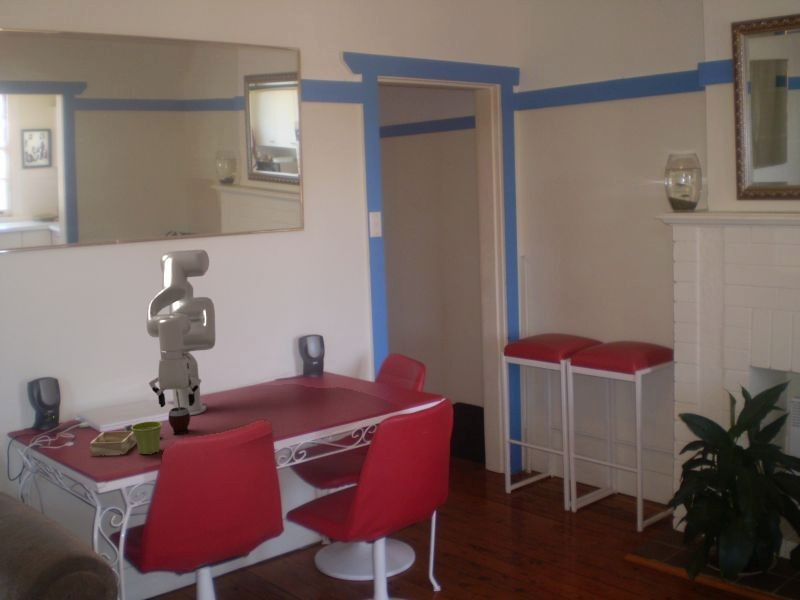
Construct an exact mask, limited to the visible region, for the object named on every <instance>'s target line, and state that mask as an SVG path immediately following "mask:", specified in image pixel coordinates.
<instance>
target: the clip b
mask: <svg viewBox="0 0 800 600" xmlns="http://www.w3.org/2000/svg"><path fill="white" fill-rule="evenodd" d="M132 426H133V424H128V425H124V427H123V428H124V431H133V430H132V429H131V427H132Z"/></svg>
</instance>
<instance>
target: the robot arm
mask: <svg viewBox="0 0 800 600" xmlns="http://www.w3.org/2000/svg"><path fill="white" fill-rule="evenodd" d="M159 263H160V268H161V272H162V279H161V280H162V284H161V290H160V291H159V292H157V294H156V295H155V296H153V298H152V299H151V301H150V302H149V304H148V307H147V314H146V330H147V331H146V332H147V333H148V335H149V336H150V337H152V338H158V340H159V350H160V359H159V362H158V377H156V378H154V379H153V380H151V381H149V383H148V384H149V386H150V388H151V389H152V391H153V393H155V394H156V396H158V405H160V408H163V407H165V406H166V396H165V393H164V391H165V390H166V391H168V390H172V397H173V407H171V409H173V408H177V407H178V401H177V396H176V390H175V389H177V391H178V394H179V395H178V397H179V403H180V407H185V408H187V409H188V411H189V414H190V416H194V415H198V414H201V413H204V412H205V411H206V410H207V406H206V405H205V404H203V403H202V399H201V397H202V396H201V388H200V385H201V383H202V379H200V376H199V367H198V366H199V365H198V361H197V360H196V358H195V356H193V354H192V353H190V352H195V351H196V352H197V351H207V350H211V349H213V348H214V347H215V345H216V313H215V305H214V303H213V300H212V299H211V298H210V297H208V296H199V297H198V296H197V297H194V287H193V285H192V284H191V283H190V282H189V281H188V278H194V277H203V276H205V275H206V274H207V271H209V267H210V257H209V254H208V252H207V251H206V250H204V249H190V250H176V251H175V250H173V251H169V252H166V253H163V254H161V256H160V259H159ZM168 306H169V310H168V313H167V314H165V313H164V314H159V313H160V312H161V311H162V310H164V309H165V308H167V307H168ZM156 383H158V386H156Z"/></svg>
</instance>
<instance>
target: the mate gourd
mask: <svg viewBox="0 0 800 600" xmlns="http://www.w3.org/2000/svg"><path fill="white" fill-rule="evenodd" d="M175 390H176V396H177V401H178V407H177V408H174V407H172V408H173V409H172V408H171V409H170V410H169V412H168V423H169V425H170V427H171V428H172V432H173V434H172V435H173V436H176V435H178V434H189V428H188V427H189V425H190V422H191V415H190V414H189V411H188V409H187V408H185V407H180V403H179V397H178V395H179V394H178V391H177V389H175Z"/></svg>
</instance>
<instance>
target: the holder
mask: <svg viewBox="0 0 800 600" xmlns="http://www.w3.org/2000/svg"><path fill="white" fill-rule="evenodd" d="M135 445H137V442H136V438H135V434H134V433H133V431H125V430H119V431H118V430H116V431H114V430H113V431H102V432H101V433H100V434H99V435H97V436H96V437H95V438H94V439H93V440H91V442H90V443H89V453H90V457H98V456H100V455H102V456H104V455H105V456H121V455H120V454H125V453H126V452H127V451H128V450H129V449H130V450H131V449H132V448H133V447H134V446H135ZM130 450H129V451H130ZM129 451H128V452H129ZM128 452H127V453H128ZM127 453H126V454H127ZM126 454H125V455H126ZM102 456H101V457H102Z"/></svg>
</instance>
